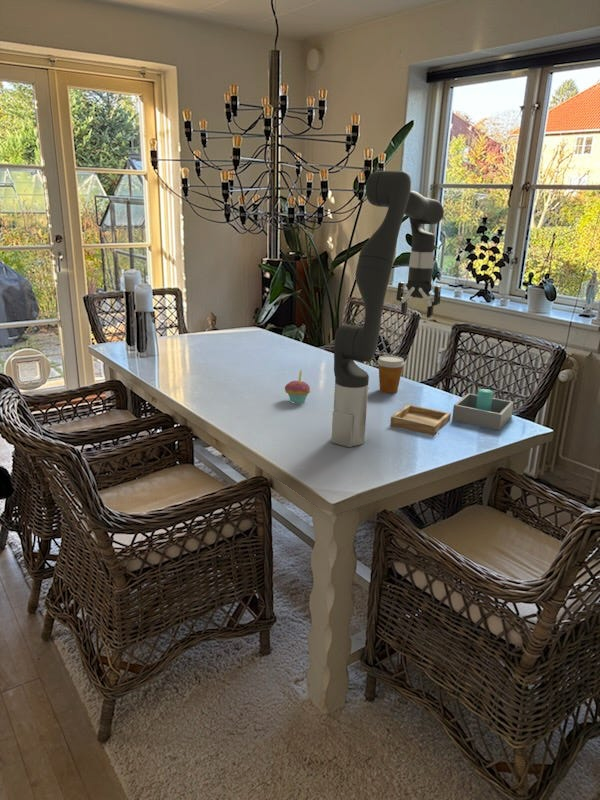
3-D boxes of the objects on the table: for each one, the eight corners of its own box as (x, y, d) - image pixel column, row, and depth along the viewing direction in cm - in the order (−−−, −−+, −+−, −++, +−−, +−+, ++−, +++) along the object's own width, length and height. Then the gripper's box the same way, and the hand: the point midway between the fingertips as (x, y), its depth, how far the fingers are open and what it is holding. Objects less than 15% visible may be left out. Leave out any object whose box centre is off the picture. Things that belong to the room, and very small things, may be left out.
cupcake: (314, 403, 204) (315, 369, 200) (292, 407, 200) (293, 372, 196) (301, 396, 211) (302, 362, 207) (280, 399, 207) (280, 365, 203)
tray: (433, 436, 179) (435, 426, 178) (390, 425, 186) (391, 416, 185) (449, 422, 191) (450, 413, 190) (408, 413, 198) (408, 404, 197)
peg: (487, 421, 189) (490, 394, 186) (473, 418, 191) (476, 391, 188) (491, 417, 193) (494, 390, 190) (477, 415, 195) (480, 388, 192)
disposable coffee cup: (405, 389, 221) (408, 357, 217) (395, 396, 213) (398, 363, 209) (381, 385, 226) (383, 353, 222) (370, 391, 218) (373, 359, 214)
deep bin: (498, 433, 183) (501, 414, 181) (451, 423, 190) (453, 404, 188) (511, 419, 195) (513, 401, 193) (466, 410, 202) (468, 393, 200)
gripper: (395, 264, 196) (391, 314, 202) (438, 268, 189) (433, 320, 195) (404, 263, 202) (400, 311, 208) (446, 266, 195) (441, 316, 201)
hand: (416, 315), depth 201 cm, fingers open, 8 cm apart
